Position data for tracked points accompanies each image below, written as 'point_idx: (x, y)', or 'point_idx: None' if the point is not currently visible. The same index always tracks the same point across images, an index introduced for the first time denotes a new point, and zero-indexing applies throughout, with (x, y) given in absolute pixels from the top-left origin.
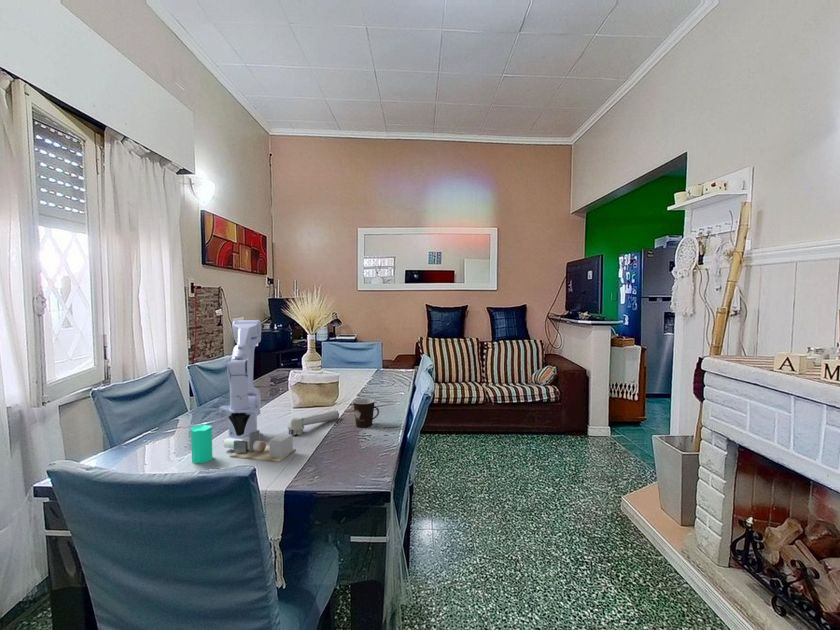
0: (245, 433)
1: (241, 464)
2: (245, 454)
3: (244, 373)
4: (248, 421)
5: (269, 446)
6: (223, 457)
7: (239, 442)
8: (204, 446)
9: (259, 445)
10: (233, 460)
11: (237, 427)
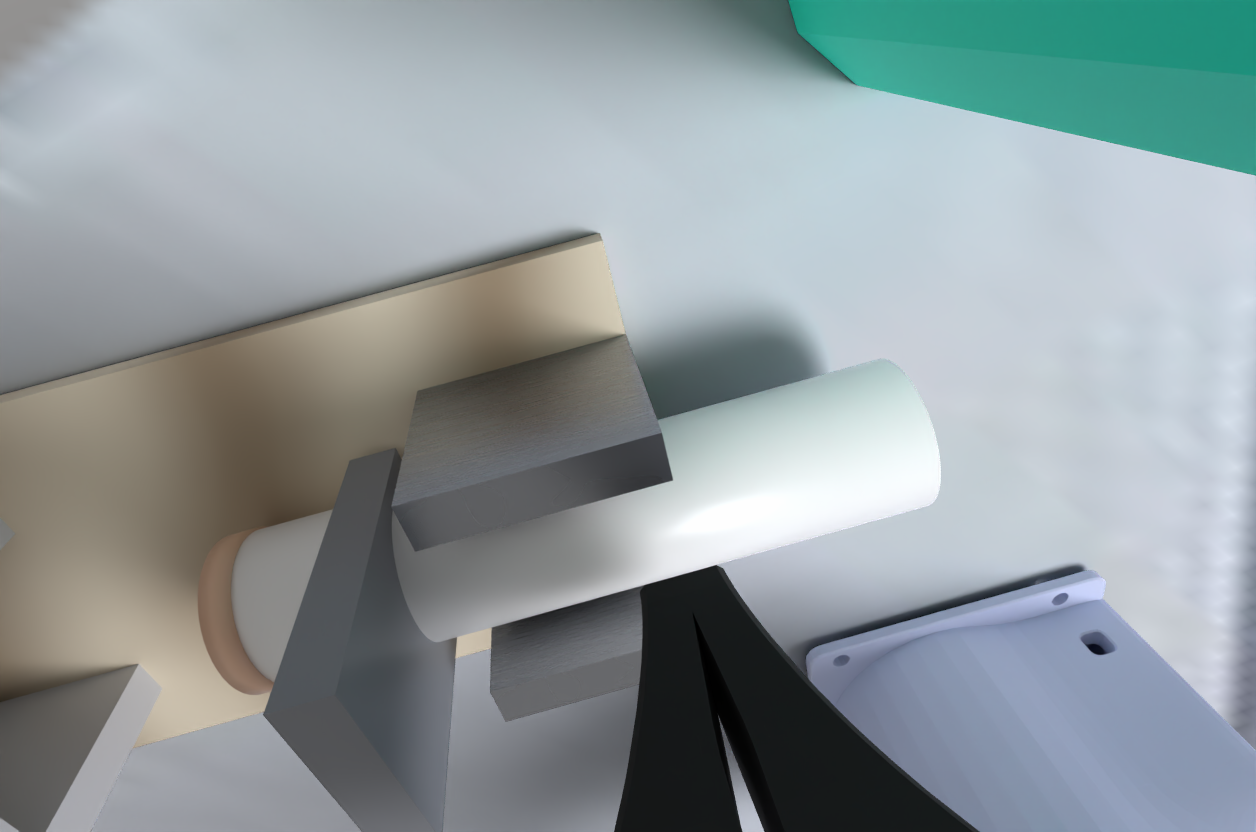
0: (906, 706)
1: (88, 104)
2: (407, 380)
3: None
4: None
5: None
6: (670, 166)
7: (525, 461)
8: None
9: (213, 586)
10: (402, 161)
11: (707, 725)
